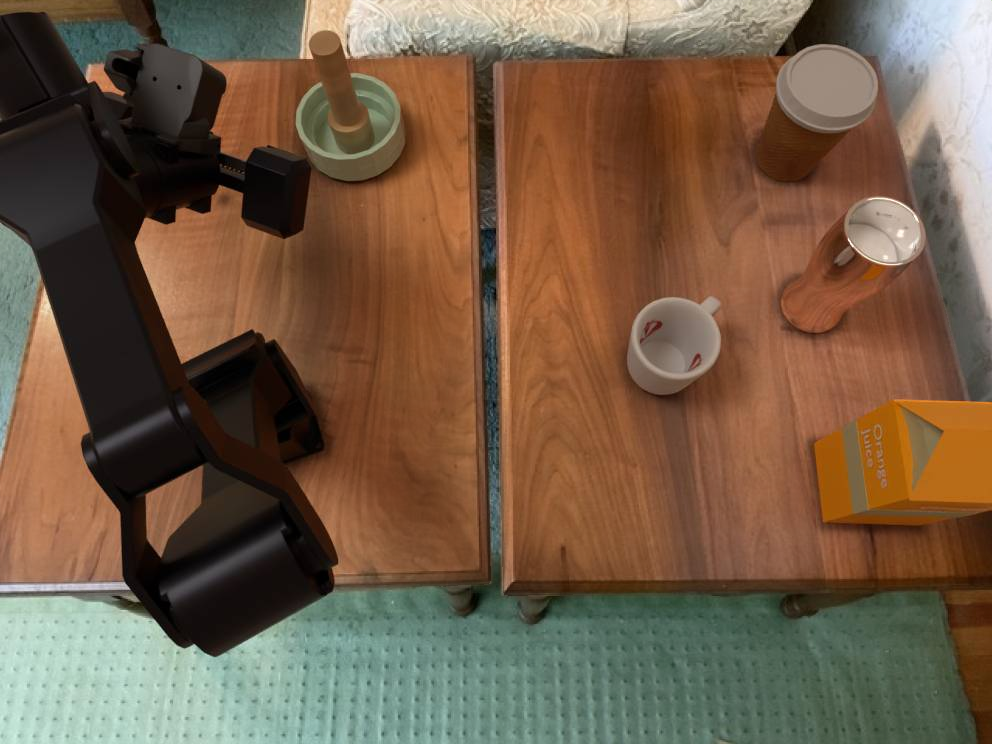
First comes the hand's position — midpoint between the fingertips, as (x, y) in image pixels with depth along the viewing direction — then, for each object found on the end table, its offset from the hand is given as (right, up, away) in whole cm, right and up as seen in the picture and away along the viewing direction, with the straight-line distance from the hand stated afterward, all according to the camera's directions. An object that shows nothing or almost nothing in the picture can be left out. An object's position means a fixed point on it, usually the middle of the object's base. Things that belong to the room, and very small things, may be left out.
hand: (256, 152), depth 62 cm
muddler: (+6, +7, +16) cm, 18 cm away
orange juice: (+56, -30, +3) cm, 64 cm away
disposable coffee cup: (+53, +4, +15) cm, 56 cm away
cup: (+39, -18, +8) cm, 43 cm away
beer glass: (+54, -13, +9) cm, 56 cm away
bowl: (+6, +6, +17) cm, 19 cm away
